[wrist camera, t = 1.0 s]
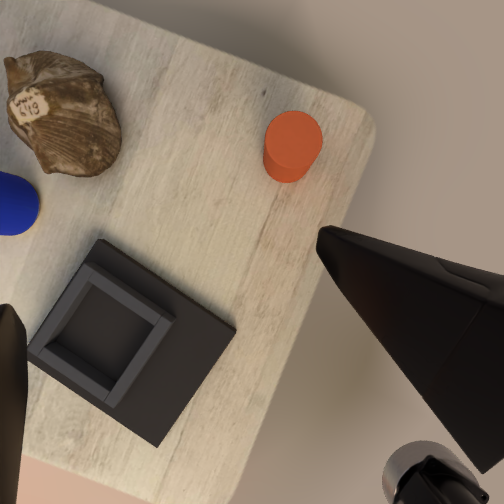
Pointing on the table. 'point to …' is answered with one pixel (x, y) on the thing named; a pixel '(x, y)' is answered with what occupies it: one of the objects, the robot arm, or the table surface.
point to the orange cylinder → (291, 146)
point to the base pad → (129, 342)
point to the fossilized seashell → (62, 113)
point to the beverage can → (17, 204)
